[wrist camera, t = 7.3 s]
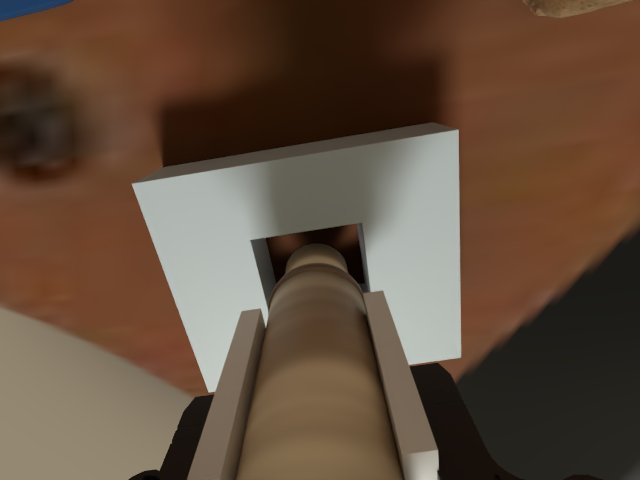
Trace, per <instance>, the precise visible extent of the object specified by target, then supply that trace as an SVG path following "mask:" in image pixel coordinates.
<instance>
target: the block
mask: <svg viewBox="0 0 640 480" xmlns="http://www.w3.org/2000/svg"><path fill="white" fill-rule="evenodd" d="M522 1H523V3H524V4H525V5H526V6H527V7H528V8H529V9H530V10H531V11H532V12H533V13H534V14H535V15H538V16H550V17H555V18H564V17H568V16H573V15H578V14H583V13H588V12H591V11H594V10H597V9H600V8H603V7H607V6H612V5H616V4H620V3H624V2H628V1H632V0H522Z"/></svg>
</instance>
